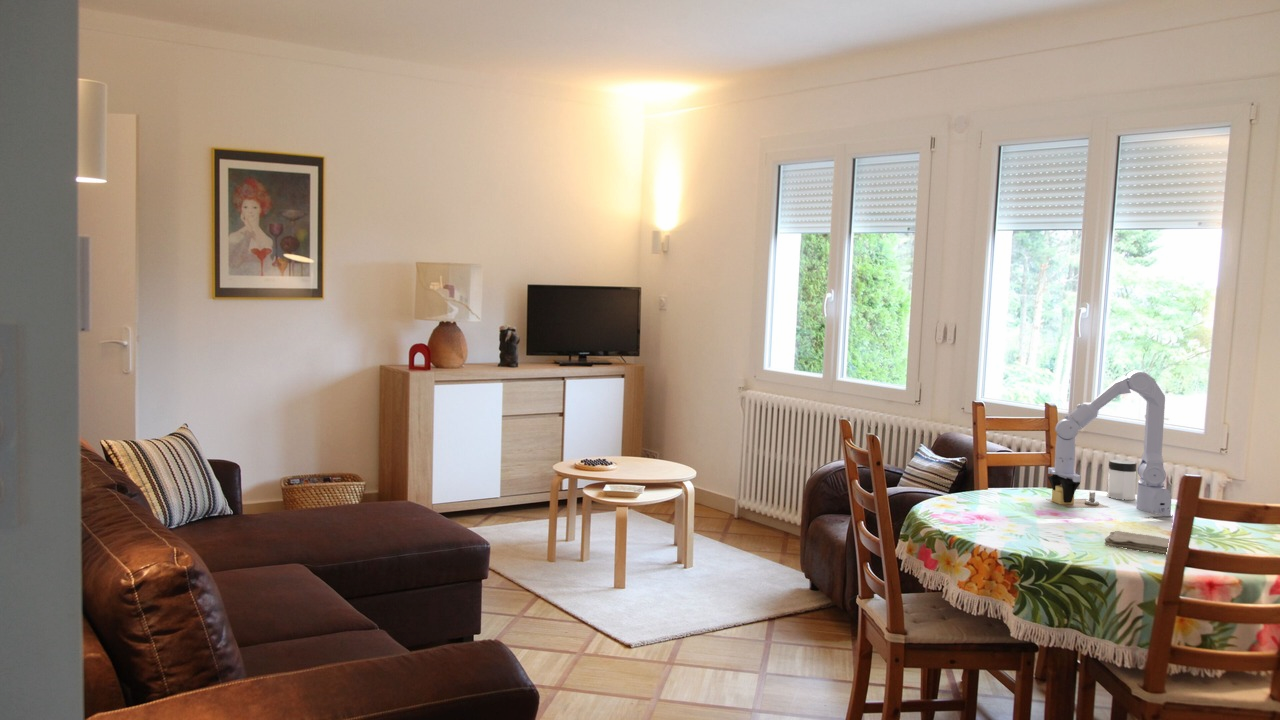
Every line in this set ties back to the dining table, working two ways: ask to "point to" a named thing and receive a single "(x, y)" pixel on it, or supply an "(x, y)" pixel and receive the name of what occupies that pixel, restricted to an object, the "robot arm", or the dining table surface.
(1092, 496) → the stud
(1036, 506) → the dining table surface
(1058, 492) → the yellow socket block
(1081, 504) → the board
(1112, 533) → the washcloth
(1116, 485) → the jar
